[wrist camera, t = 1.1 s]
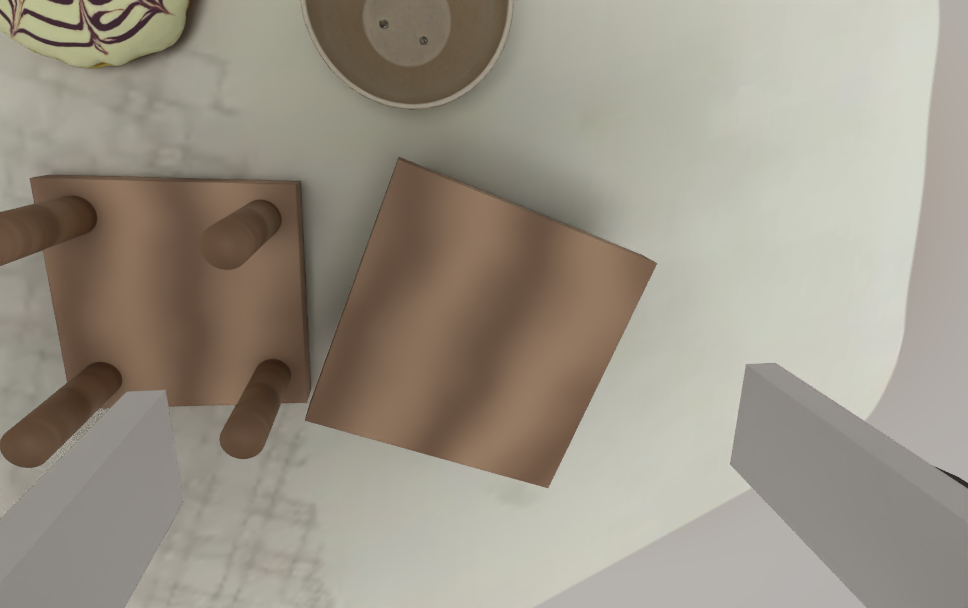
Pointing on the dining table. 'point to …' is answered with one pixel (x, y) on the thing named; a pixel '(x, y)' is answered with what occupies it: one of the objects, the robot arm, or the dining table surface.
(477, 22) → the flower pot
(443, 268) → the stool
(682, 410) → the dining table surface
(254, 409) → the upturned stool
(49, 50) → the decorated donut
